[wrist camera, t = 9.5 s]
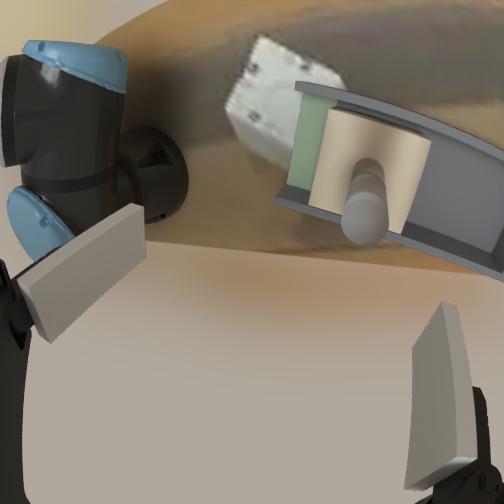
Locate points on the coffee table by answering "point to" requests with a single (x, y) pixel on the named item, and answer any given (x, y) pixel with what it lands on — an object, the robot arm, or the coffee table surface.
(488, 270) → the bay
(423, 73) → the coffee table surface
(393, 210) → the beige block with post
